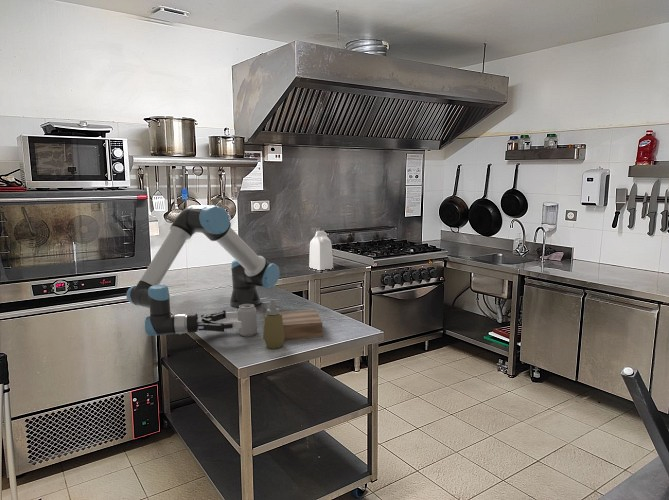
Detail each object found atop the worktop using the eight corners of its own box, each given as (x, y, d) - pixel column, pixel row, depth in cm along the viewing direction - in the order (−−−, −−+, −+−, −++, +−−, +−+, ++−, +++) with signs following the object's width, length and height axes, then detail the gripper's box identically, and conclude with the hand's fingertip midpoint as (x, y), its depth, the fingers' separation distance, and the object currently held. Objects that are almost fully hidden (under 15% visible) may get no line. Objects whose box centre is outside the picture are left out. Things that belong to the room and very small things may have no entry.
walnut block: (274, 326, 203) (273, 312, 203) (316, 323, 207) (315, 309, 206) (277, 340, 186) (276, 325, 185) (322, 336, 189) (322, 322, 188)
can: (258, 330, 199) (257, 302, 197) (256, 336, 191) (254, 307, 189) (240, 331, 198) (238, 303, 196) (237, 337, 191) (235, 308, 189)
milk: (322, 266, 334) (321, 229, 330) (333, 268, 326) (332, 230, 322) (309, 269, 326) (307, 231, 322) (320, 271, 318) (319, 232, 314)
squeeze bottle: (273, 351, 174) (271, 303, 171) (259, 346, 179) (256, 300, 177) (289, 345, 180) (287, 299, 177) (275, 341, 185) (273, 296, 183)
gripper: (191, 323, 202) (242, 319, 206) (183, 343, 178) (241, 338, 181) (190, 305, 201) (241, 302, 204) (182, 323, 176) (240, 319, 180)
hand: (241, 319), depth 193 cm, fingers open, 13 cm apart
